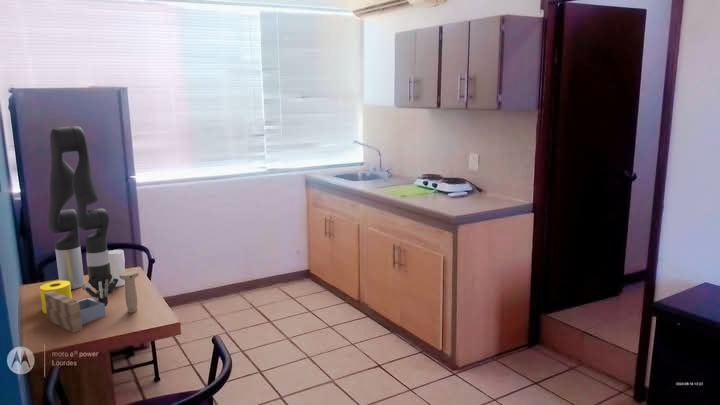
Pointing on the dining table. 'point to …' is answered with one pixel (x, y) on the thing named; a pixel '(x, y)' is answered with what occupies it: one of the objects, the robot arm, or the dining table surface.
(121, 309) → the dining table surface
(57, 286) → the tape roll
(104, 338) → the dining table surface
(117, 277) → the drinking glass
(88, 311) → the box
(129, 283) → the handle
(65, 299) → the block
